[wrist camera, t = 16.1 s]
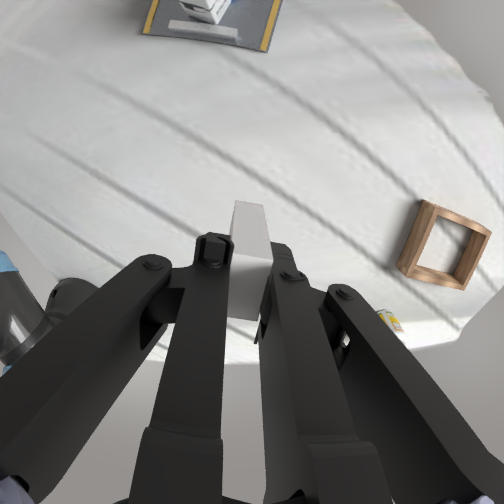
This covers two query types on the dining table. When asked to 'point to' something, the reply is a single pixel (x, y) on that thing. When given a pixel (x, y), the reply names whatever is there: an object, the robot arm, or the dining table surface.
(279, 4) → the grey tray
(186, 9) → the ink box
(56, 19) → the dining table surface
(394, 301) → the dining table surface
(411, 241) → the stand
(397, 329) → the supplement bottle
